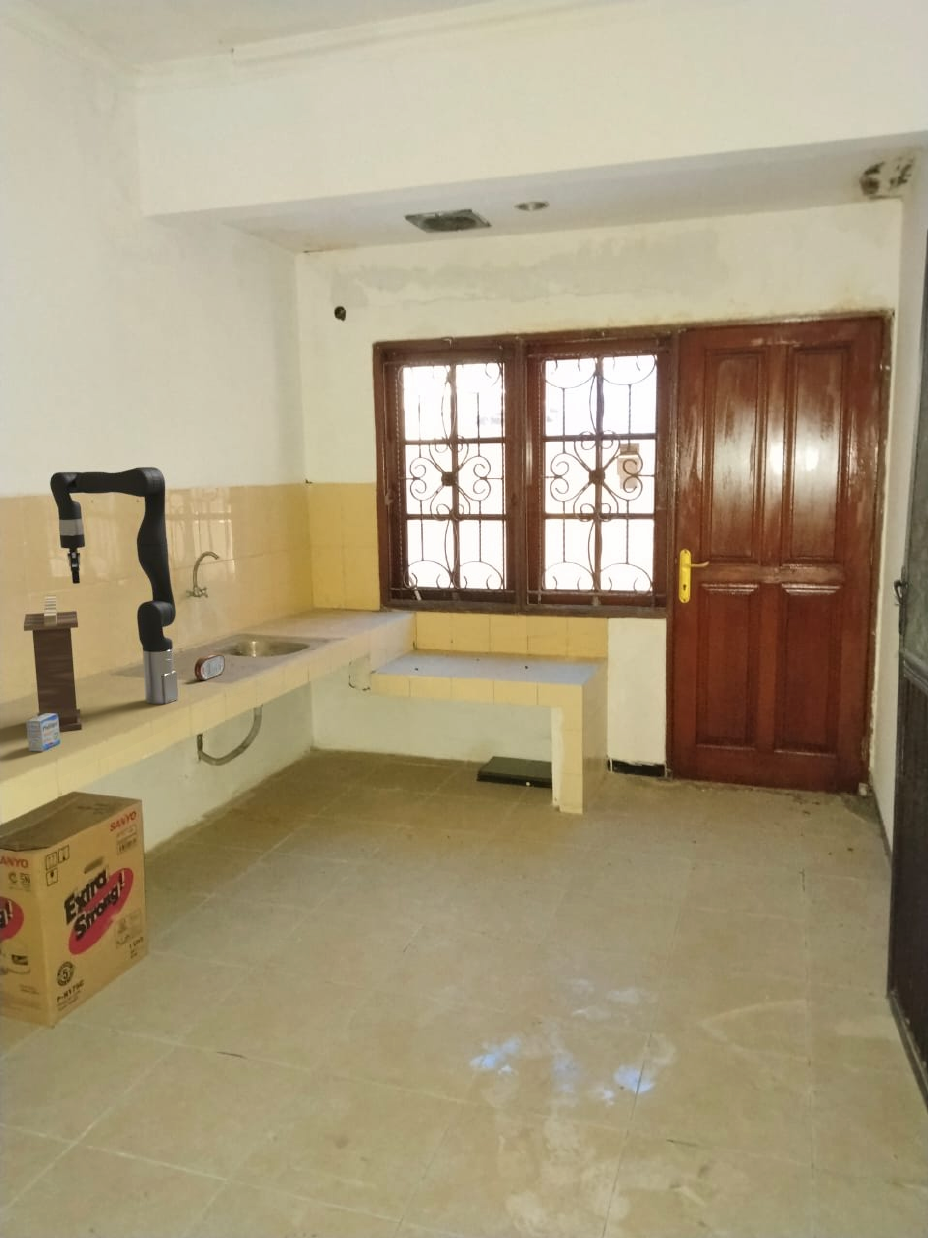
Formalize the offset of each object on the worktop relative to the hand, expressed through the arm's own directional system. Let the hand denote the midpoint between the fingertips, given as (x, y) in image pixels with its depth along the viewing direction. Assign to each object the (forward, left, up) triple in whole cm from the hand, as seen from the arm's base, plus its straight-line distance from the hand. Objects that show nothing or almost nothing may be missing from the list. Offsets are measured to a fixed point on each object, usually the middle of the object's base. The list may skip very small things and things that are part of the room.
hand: (76, 581), depth 302 cm
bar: (-17, +28, -5) cm, 33 cm away
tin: (-28, -32, -38) cm, 57 cm away
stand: (-21, +32, -37) cm, 54 cm away
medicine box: (-35, +51, -38) cm, 72 cm away
